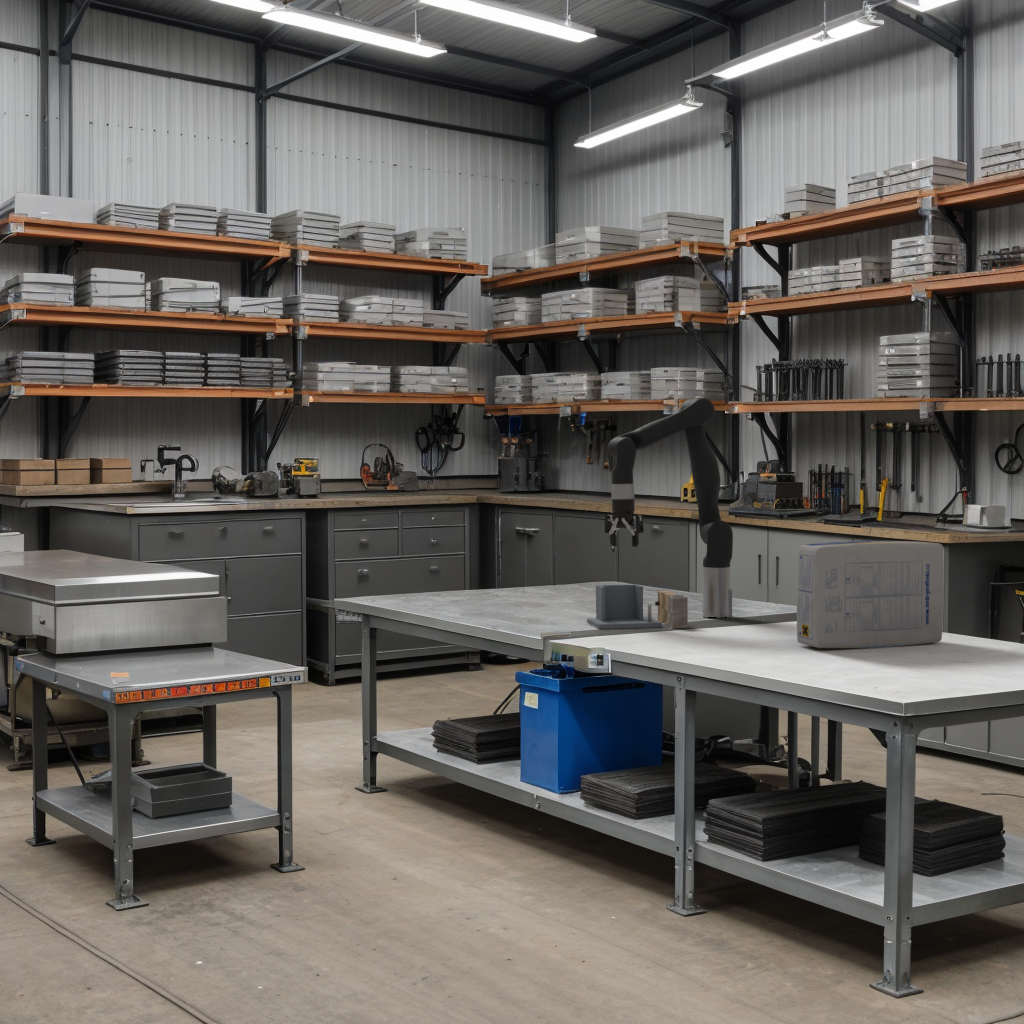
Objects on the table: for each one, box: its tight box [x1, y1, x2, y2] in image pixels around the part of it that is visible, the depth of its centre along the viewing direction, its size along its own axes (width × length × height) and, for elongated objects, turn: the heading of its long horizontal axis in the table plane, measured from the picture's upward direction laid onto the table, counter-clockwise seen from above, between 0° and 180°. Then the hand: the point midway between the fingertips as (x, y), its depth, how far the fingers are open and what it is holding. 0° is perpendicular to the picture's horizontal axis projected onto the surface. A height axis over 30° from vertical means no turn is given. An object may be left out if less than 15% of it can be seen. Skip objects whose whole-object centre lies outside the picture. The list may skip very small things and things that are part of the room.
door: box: [654, 590, 689, 629], centre depth 398 cm, size 19×5×10 cm, turn 11°
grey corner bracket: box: [586, 583, 663, 630], centre depth 397 cm, size 21×15×12 cm
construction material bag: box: [796, 540, 945, 649], centre depth 351 cm, size 43×12×30 cm, turn 108°
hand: (624, 546), depth 403 cm, fingers open, 8 cm apart
